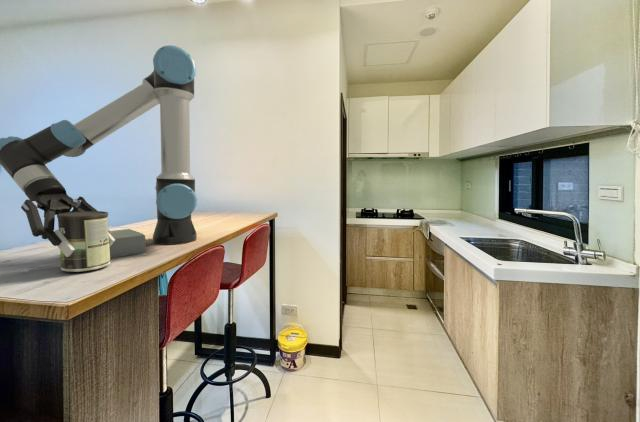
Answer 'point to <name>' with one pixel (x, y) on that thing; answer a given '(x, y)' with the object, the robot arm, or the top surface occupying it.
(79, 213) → the coffee can
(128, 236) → the base block
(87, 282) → the top surface
